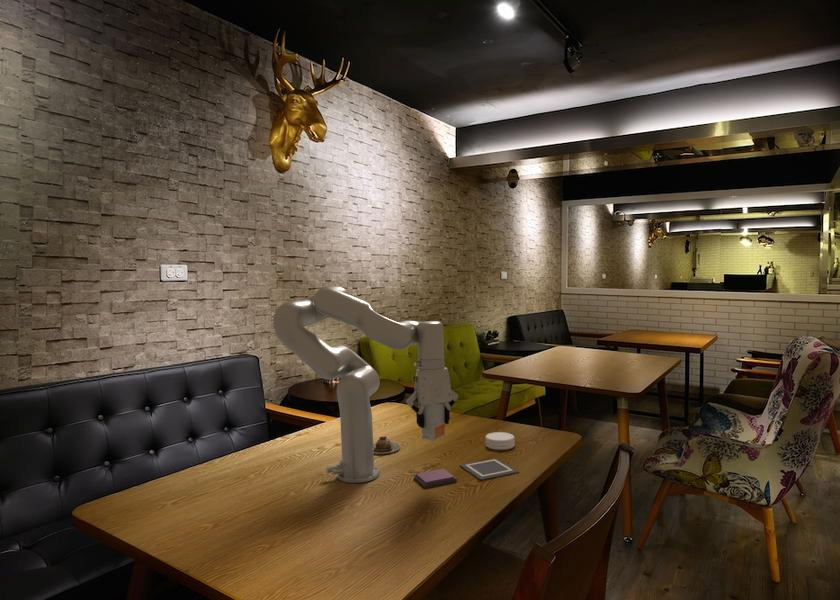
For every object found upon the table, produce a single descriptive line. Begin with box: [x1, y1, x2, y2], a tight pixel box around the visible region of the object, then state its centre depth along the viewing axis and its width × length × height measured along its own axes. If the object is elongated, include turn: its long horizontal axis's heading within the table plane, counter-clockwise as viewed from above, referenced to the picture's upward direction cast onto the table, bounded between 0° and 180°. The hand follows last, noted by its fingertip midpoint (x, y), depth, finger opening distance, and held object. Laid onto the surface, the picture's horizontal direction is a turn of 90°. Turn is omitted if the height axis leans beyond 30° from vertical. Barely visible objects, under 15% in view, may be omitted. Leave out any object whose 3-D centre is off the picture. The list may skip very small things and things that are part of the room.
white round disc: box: [485, 431, 516, 451], centre depth 184 cm, size 10×10×4 cm
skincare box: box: [421, 399, 446, 442], centre depth 154 cm, size 6×4×12 cm
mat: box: [459, 458, 520, 482], centre depth 162 cm, size 13×13×1 cm
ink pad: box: [413, 468, 458, 489], centre depth 155 cm, size 10×8×2 cm
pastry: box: [373, 435, 401, 456], centre depth 184 cm, size 12×12×5 cm
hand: (433, 424), depth 154 cm, fingers closed on skincare box, 7 cm apart
